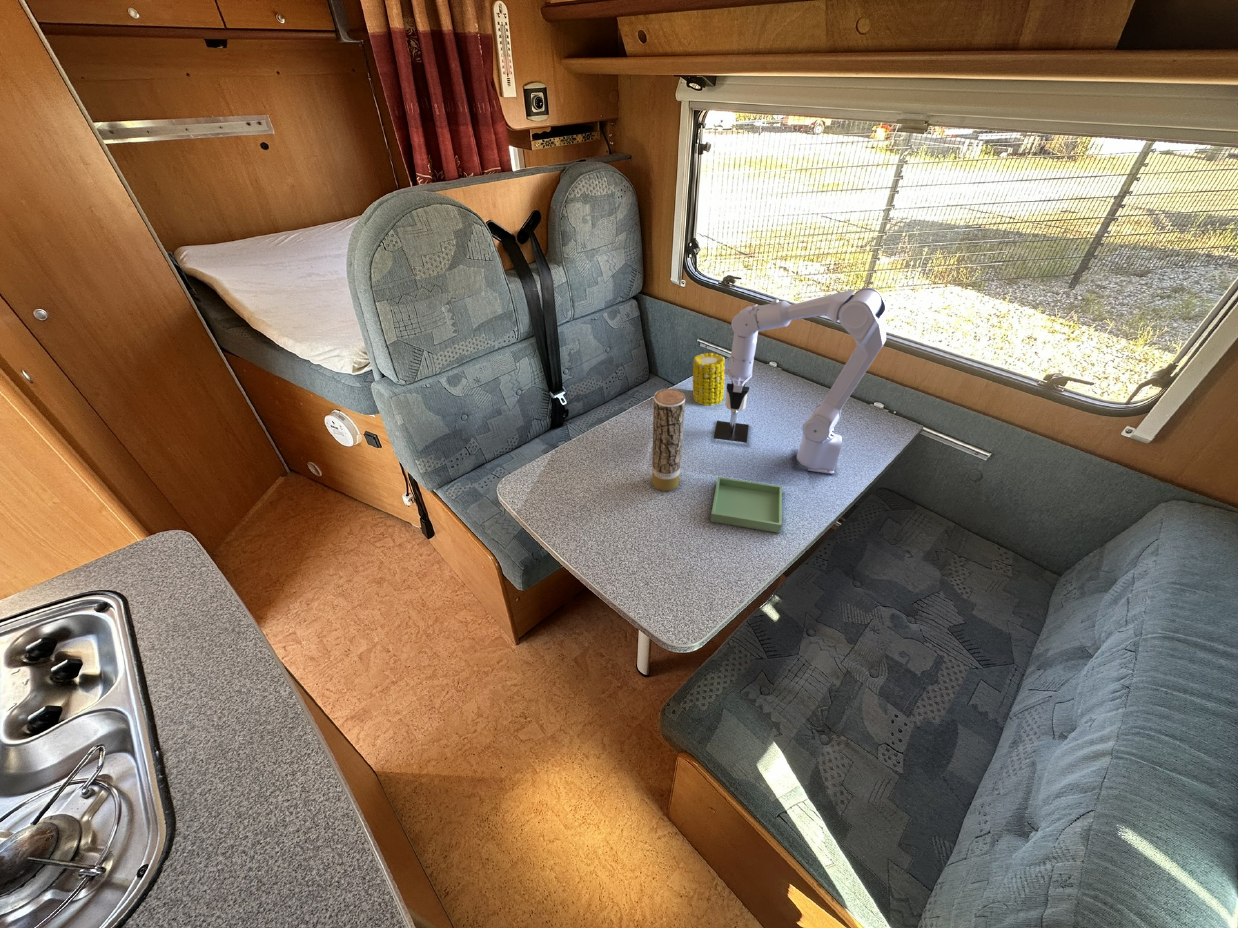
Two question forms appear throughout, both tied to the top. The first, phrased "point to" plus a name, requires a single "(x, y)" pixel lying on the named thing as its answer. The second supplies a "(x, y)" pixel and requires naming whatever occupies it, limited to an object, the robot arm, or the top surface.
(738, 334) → the robot arm
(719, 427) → the stand
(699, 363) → the food
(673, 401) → the bark log
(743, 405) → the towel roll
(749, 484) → the tray
